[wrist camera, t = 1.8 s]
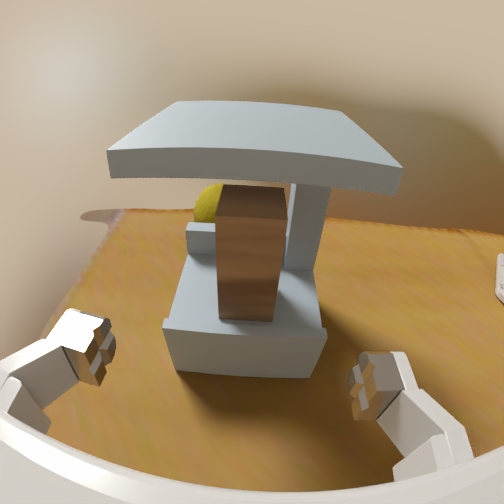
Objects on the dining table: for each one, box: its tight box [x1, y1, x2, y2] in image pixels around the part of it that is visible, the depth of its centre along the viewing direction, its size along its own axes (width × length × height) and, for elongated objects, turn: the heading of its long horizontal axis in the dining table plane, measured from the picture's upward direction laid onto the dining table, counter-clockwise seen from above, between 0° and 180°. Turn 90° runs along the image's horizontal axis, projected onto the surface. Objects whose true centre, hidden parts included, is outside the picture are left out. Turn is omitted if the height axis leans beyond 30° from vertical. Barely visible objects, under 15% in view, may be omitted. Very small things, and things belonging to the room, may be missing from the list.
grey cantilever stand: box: [107, 101, 403, 378], centre depth 24 cm, size 13×14×22 cm
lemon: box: [194, 184, 227, 223], centre depth 41 cm, size 11×8×8 cm
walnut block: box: [215, 184, 288, 322], centre depth 23 cm, size 4×4×10 cm
